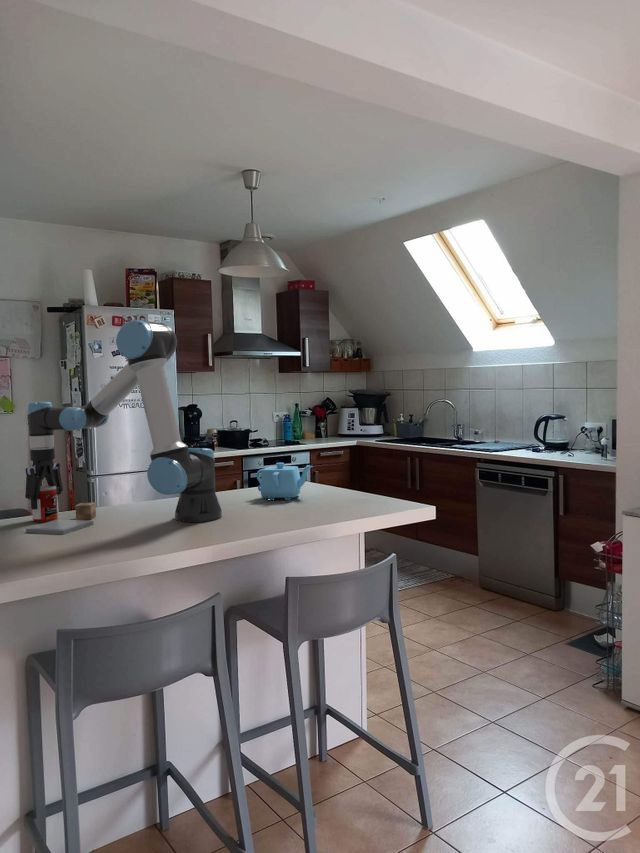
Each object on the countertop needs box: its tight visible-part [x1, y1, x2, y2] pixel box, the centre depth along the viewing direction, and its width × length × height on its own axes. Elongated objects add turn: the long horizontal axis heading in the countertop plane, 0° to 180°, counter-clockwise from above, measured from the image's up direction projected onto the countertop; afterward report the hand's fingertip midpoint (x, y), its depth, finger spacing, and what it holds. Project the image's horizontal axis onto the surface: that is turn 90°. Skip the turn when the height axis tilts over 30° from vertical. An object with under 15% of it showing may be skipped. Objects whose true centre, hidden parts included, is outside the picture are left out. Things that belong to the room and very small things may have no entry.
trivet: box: [25, 518, 95, 535], centre depth 209 cm, size 14×14×1 cm
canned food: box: [31, 485, 59, 523], centre depth 222 cm, size 8×8×11 cm
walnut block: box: [74, 502, 97, 521], centre depth 223 cm, size 5×5×5 cm
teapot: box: [255, 462, 313, 501], centre depth 252 cm, size 18×16×14 cm
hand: (46, 516), depth 222 cm, fingers closed on canned food, 8 cm apart
